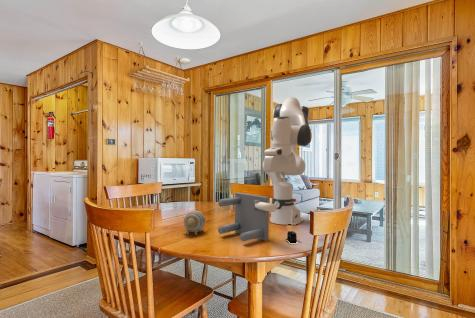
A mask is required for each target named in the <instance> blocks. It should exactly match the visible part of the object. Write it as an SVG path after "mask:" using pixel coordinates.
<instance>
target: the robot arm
mask: <svg viewBox="0 0 475 318" xmlns="http://www.w3.org/2000/svg"><path fill="white" fill-rule="evenodd" d="M272 115H273V121H272V126H271V128H272V129H271V131H270V132H271V135H270V136H271V137H270V140H271V147H269V148H267V149H265V150H264V152H263V153H264V159H263V162H262V170H263V172H264V173H265V174H266V175H267V176H269V178H270V180H271V182H272V186H273V188H272V189H273V197H272V204H275V205H276V211H275V212H270V216H269V221H270V223H272V224H277V225H287V226H288V224H291V226H292V225H293V226H294V225H295V226H297V225H298V224H300V223H302V222H304V221H305V218H304V217H301V211H300V209H299V208H298V207H296V205H295V203H297V198H293V186H292V184H291V183H290V182H289V181H287V180H286V179H285V177H286V176H291V177H292V176H300V175H303V174H304V172H305V171H306V162H305V160H304V159H303V158H302V157H300V155H299V154H298V152H297V146H299V147H306V146H308V145H309V144H310V143H311V142H312V139H313V133H312V130H311V127H310V124H309V118H310V115H311V112H310V110H309V107H308V106H305V105H303V106H302V105H301V104H300V100H298V98H296V97H293V96H290V97H287V98H285V100H284V101H283V103H279V104H277V105H275V106H274V108H273V111H272ZM303 220H304V221H303ZM301 221H302V222H301ZM296 224H297V225H296Z"/></svg>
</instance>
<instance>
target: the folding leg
mask: <svg viewBox="0 0 475 318" xmlns="http://www.w3.org/2000/svg"><path fill="white" fill-rule="evenodd" d="M254 210H256V211H259V210H265V211H269V213H271V212H275V211H276V205H275V204H273V203H272V202H271V203H270V202H269V203H265V202H261V200H254Z"/></svg>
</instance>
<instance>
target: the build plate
mask: <svg viewBox="0 0 475 318" xmlns="http://www.w3.org/2000/svg"><path fill="white" fill-rule="evenodd" d="M286 235H287V237H286V238H287V239H286V240H288V241H289V242H290V243H296V242H297V241H298V240H297V237H298V236H297V232H295V231H294V230H292V231H290V230H289V231H287V234H286Z"/></svg>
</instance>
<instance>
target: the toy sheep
mask: <svg viewBox="0 0 475 318" xmlns="http://www.w3.org/2000/svg"><path fill="white" fill-rule="evenodd" d="M183 225H184V228H185V229H186V235H187V236H189V235H190V233H194V236H197V235H198V232H202V231H203V229H204V227H205V225H206V217H205V215H204V213H202V212H201V211H200V210H192V211H189V212H188V213H187V214H186V215H185V217H184V218H183Z"/></svg>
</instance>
